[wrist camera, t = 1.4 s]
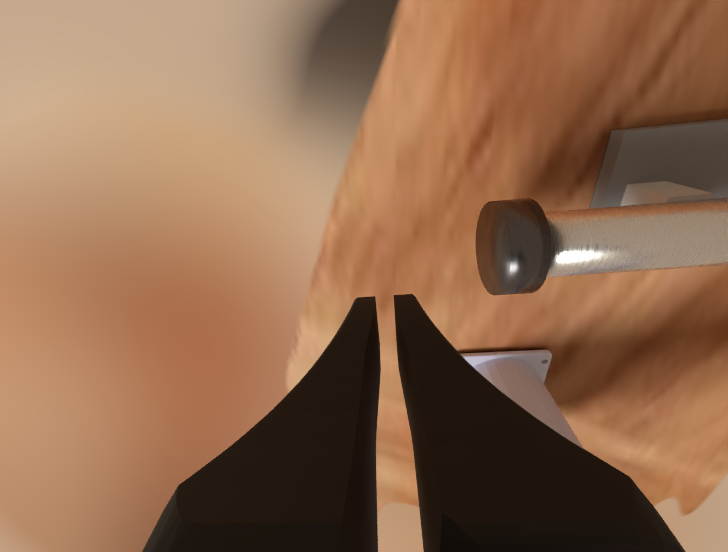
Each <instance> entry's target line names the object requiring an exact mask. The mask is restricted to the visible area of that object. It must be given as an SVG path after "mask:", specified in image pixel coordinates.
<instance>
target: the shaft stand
mask: <svg viewBox="0 0 728 552" xmlns="http://www.w3.org/2000/svg"><path fill="white" fill-rule="evenodd" d="M725 197H728V118H726V119H716V120H706V121H697V122H687V123H677V124H667V125H657V126H647V127H637V128H627V129H618V130H612V131H611V135H610V138H609V142H608V145H607V149H606V152H605V156H604V159H603V163H602V166H601V170H600V173H599V177H598V180H597V184H596V187H595V191H594V194H593V198H592V201H591V205H590V208H589V209H592V208H604V207H616V206H628V205H640V204H653V203H665V202H677V201H689V200H701V199H713V198H725Z"/></svg>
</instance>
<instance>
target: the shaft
mask: <svg viewBox="0 0 728 552" xmlns="http://www.w3.org/2000/svg"><path fill="white" fill-rule="evenodd" d="M476 258H477V265H478V270H479V274H480V277H481V280H482V283H483V285H484V287H485V288H486V290H487V291H488V292H489V293H490V294H491V295H507V294H523V293H533V292H535V291H537V290H538V289H539V288H540V287H541V286H542V285H543V283H544V281H545V279H546V277H553V276H568V275H583V274H598V273H613V272H628V271H643V270H658V269H673V268H688V267H703V266H718V265H728V197H725V198H713V199H701V200H689V201H677V202H665V203H653V204H640V205H628V206H616V207H604V208H592V209H580V210H568V211H556V212H544V211H543V210H542V208H541V207H540V205H539V204H538V203H537V202H536V201H534V200H532V199H529V198H525V199H513V200H502V201H490V202H488V203H486V204H485V205H484V207H483V208H482V210H481V212H480V215H479V219H478V223H477V230H476Z"/></svg>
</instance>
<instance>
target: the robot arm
mask: <svg viewBox="0 0 728 552" xmlns="http://www.w3.org/2000/svg"><path fill="white" fill-rule="evenodd" d="M394 307H395V324H396V341H397V353H398V365H399V372H400V378H401V383H402V388H403V393H404V399H405V404H406V409H407V414H408V420H409V425H410V430H411V436H412V443H413V450H414V459H415V469H416V479H417V488H418V498H419V508H420V518H421V527H422V538H423V548H424V552H685V550H684V549H683V547H682V546H681V545H680V543H679V542H678V541H677V539H676V537H675V536H674V535H673V533H672V532H671V530H670V529H669V528H668V526H667V525H666V523H665V522H664V520H663V519H662V517H661V516H660V515H659V514H658V512H657V511H656V509H655V508H654V506H653V505H652V504H651V503H650V502H649V500H648V499H647V498H646V497H645V495H644V494H643V493H642V492H641V491H640V489H639V488H638V487H637V486H636V484H635V483H634V482H633V480H632V479H631V478H630V477H629V476H627V475H626V474H624V473H622V472H621V471H619V470H617V469H616V468H614V467H612V466H611V465H609V464H608V463H606V462H604V461H603V460H601V459H599V458H598V457H596V456H594V455H593V454H591V453H589V452H588V451H586V450H585V449H584V448H583V447H582V445H581V443H580V442H579V440H578V439H577V437H576V435H575V434H574V432H573V430H572V429H571V427H570V426H569V424H568V422H567V421H566V419H565V417H564V416H563V414H562V412H561V411H560V409H559V408H558V406H557V404H556V403H555V401H554V399H553V398H552V396H551V395H550V393H549V391H548V390H547V388H546V386H545V385H544V382H545V379H546V375H547V372H548V369H549V365H550V362H551V358H552V354H551V353H550V351H549V350H527V351H507V352H486V353H465V354H459V352H458V351H457V350H456V349H455V348H454V347H453V346H452V345H451V344H450V343H449V342H448V341H447V339H446V338H445V337H444V336H443V335H442V334H441V332H440V331H439V330H438V329H437V327H436V326H435V325H434V324H433V322H432V321H431V320H430V318H429V317H428V316H427V314H426V313H425V311H424V310H423V309H422V307H421V305H420V304H419V302H418V301H417V299H416V297H415V296H414V295H413V294H406V295H394ZM380 371H381V367H380V342H379V331H378V321H377V311H376V300H375V297H360V298H356V299H355V300H354V303H353V305H352V307H351V309H350V311H349V313H348V315H347V316H346V318H345V320H344V322H343V323H342V325H341V327H340V328H339V330H338V331H337V333H336V335H335V336H334V338H333V339H332V341H331V342H330V344H329V345H328V346H327V348H326V349H325V351H324V352H323V353H322V355H321V356H320V358H319V359H318V360H317V361H316V363H315V364H314V365H313V366H312V368H311V369H310V370H309V371H308V373H307V374H306V375H305V376H304V377H303V378H302V379H301V381H300V382H299V383H298V384H297V385H296V386H295V387H294V388H293V389H292V390H291V391H290V392H289V393H288V394H287V396H286V397H285V398H284V399H283V400H282V401H281V402H280V403H279V404H278V405H277V406H276V407H275V408H274V409H273V410H272V411H270V412H269V413H268V414H267V415H266V416H265V417H264V418H263V419H262V420H260V421H259V422H258V423H257V424H256V425H255V426H254V427H253V428H251V429H250V430H249V431H248V432H247V433H246V434H245V435H243V436H242V437H241V438H240V439H239V440H238V441H236V442H235V443H234V444H233V445H232V446H230V447H229V448H228V449H227V450H225V451H224V452H223V453H221V454H220V455H219V456H218V457H216V458H215V459H213V460H212V461H211V462H209V463H208V464H207V465H205V466H204V467H203V468H201V469H200V470H199V471H197V472H196V473H195V474H193V475H192V476H191V477H189V478H188V479H187V480H185V481H184V482H182V483H181V484H180V485H179V486H178V487H177V489H176V491H175V493H174V494H173V496H172V498H171V499H170V501H169V503H168V504H167V506H166V507H165V509H164V511H163V512H162V515H161V516H160V518H159V520H158V522H157V524H156V526H155V528H154V530H153V532H152V534H151V536H150V537H149V539H148V542H147V543H146V545H145V547H144V549H143V551H142V552H378V536H377V491H376V429H377V415H378V400H379V386H380Z"/></svg>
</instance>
